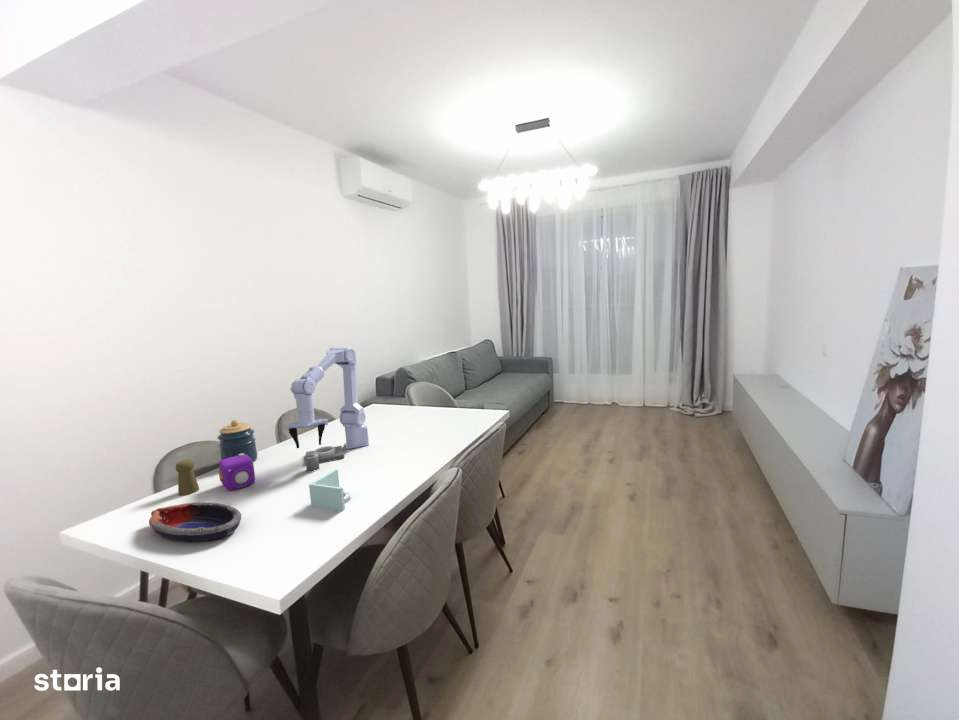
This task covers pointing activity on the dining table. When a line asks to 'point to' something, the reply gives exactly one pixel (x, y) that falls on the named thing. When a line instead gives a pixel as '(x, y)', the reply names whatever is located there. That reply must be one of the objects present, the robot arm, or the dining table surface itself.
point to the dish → (195, 521)
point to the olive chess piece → (186, 478)
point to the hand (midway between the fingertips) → (309, 445)
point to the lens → (312, 461)
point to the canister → (237, 440)
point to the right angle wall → (328, 492)
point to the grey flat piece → (328, 453)
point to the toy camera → (236, 472)
